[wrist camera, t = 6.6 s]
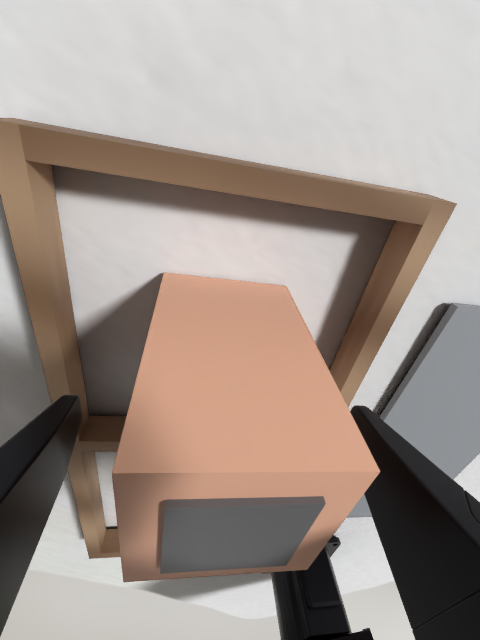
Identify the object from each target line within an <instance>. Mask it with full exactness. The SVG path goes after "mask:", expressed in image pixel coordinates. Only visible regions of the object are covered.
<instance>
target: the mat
mask: <svg viewBox="0 0 480 640" xmlns="http://www.w3.org/2000/svg"><path fill="white" fill-rule="evenodd" d="M379 418H381V419H382V420H383V421H384V422H385V423H386V424H388V425H389V426H390V427H391V428H392V429H394V430H395V431H396V432H397V433H398V434H399V435H401V436H402V437H403V438H404V439H405V440H407V441H408V442H409V443H410V444H411V445H412V446H414V447H415V448H416V449H417V450H418V451H420V452H421V453H422V454H423V455H424V456H425V457H427V458H428V459H429V460H430V461H431V462H432V463H434V464H435V465H436V466H437V467H438V468H440V469H441V470H442V471H443V472H444V473H445V474H447V475H448V476H449V477H450V478H451V479H454V478H455V477H456V476H457V475H458V474H459V473H460V472H461V471H462V470H463V469H464V468H465V467H466V466H467V465H468V464H469V463H470V462H471V461H472V460H473V459H474V458H475V457H476V456H477V455H478V454H479V453H480V306H476V305H467V304H458V303H451V305H450V306H449V308H448V310H447V311H446V313H445V314H444V316H443V317H442V319H441V321H440V322H439V324H438V325H437V327H436V329H435V330H434V332H433V333H432V335H431V336H430V338H429V340H428V341H427V343H426V344H425V346H424V348H423V349H422V351H421V352H420V354H419V355H418V357H417V359H416V360H415V362H414V363H413V365H412V366H411V368H410V370H409V371H408V373H407V374H406V376H405V378H404V379H403V381H402V382H401V384H400V385H399V387H398V389H397V390H396V392H395V393H394V395H393V397H392V398H391V400H390V401H389V403H388V404H387V406H386V408H385V409H384V411H383V412H382V414H381V415H380V417H379ZM352 517H372V515H371V512H370V509H369V506H368V503H367V500H366V498H365V495H364V494H363V496H362V497H361V498H360V500H359V501H358V502H357V504H356V505H355V506H354V508H353V509H352V510H351V512H350V513H349V514H348V516H347V517H346V518H352Z"/></svg>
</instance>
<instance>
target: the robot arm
mask: <svg viewBox="0 0 480 640" xmlns="http://www.w3.org/2000/svg"><path fill="white" fill-rule="evenodd" d="M350 413H351V415H352V417H353V419H354V421H355V422H356V424H357V426H358V428H359V430H360V432H361V434H362V436H363V438H364V440H365V442H366V444H367V446H368V448H369V450H370V452H371V454H372V456H373V458H374V460H375V462H376V464H377V466H378V468H379V470H380V473H379V474H378V476H377V477H376V478H375V480H374V481H373V482H372V484H371V485H370V486H369V488H368V489H367V490H366V492H365V493H364V495H365V498H366V500H367V503H368V506H369V509H370V512H371V515H372V517H373V520H374V523H375V526H376V529H377V532H378V534H379V537H380V540H381V543H382V546H383V549H384V551H385V554H386V557H387V560H388V563H389V565H390V568H391V571H392V574H393V577H394V580H395V582H396V585H397V588H398V591H399V594H400V597H401V599H402V602H403V605H404V608H405V611H406V614H407V616H408V619H409V622H410V625H411V628H412V629H413V634H414V637H415V640H480V502H479V501H477V500H476V499H475V498H474V497H473V496H472V495H470V494H469V493H468V492H467V491H464V489H463V488H462V487H461V486H460V485H458V484H457V483H456V482H455V481H454V480H453V479H451V478H450V477H449V476H448V475H447V474H445V473H444V472H443V471H442V470H441V469H440V468H438V467H437V466H436V465H435V464H434V463H432V462H431V461H430V460H429V459H428V458H427V457H425V456H424V455H423V454H422V453H421V452H420V451H418V450H417V449H416V448H415V447H414V446H412V445H411V444H410V443H409V442H408V441H407V440H405V439H404V438H403V437H402V436H401V435H399V434H398V433H397V432H396V431H395V430H394V429H392V428H391V427H390V426H389V425H388V424H386V423H385V422H384V421H383V420H382V419H381V418H379V417H378V416H377V415H376V414H375V413H373V412H372V411H371V410H370V409H369V408H367V407H366V406H354V407H352V409H351V411H350ZM81 420H82V410H81V404H80V398H79V396H78V395H63V396H61V397H60V398H59V399H57V400H56V401H55V402H54V403H53V404H51V405H50V406H49V407H48V408H47V409H45V410H44V411H43V412H42V413H41V414H39V415H38V416H37V417H36V418H35V419H33V420H32V421H31V422H30V423H29V424H27V425H26V426H25V427H24V428H23V429H21V430H20V431H19V432H18V433H17V434H16V435H14V436H13V437H12V438H11V439H10V440H8V441H7V442H6V443H5V444H4V445H2V446H1V447H0V636H1V634H2V631H3V629H4V626H5V624H6V621H7V619H8V616H9V614H10V611H11V609H12V606H13V604H14V601H15V599H16V596H17V594H18V592H19V589H20V586H21V584H22V582H23V579H24V577H25V574H26V572H27V569H28V567H29V564H30V562H31V559H32V557H33V555H34V552H35V550H36V547H37V545H38V542H39V540H40V537H41V535H42V532H43V530H44V527H45V525H46V522H47V520H48V517H49V515H50V513H51V510H52V508H53V505H54V503H55V500H56V498H57V495H58V493H59V490H60V488H61V485H62V483H63V480H64V478H65V475H66V472H67V470H68V466H69V463H70V459H71V456H72V452H73V449H74V445H75V441H76V438H77V434H78V431H79V427H80V424H81ZM340 544H341V543H340V540H339V538H338V537H331V538H330V540H329V541H328V542H327V544H326V545H325V547H324V548H323V549H322V551H321V552H320V553H319V555H318V556H317V557H316V559H315V560H314V561H313V563H312V564H311V565H310V567H309V568H308V569H307V570H295V571H281V572H266V573H271V576H272V583H273V590H274V596H275V603H276V609H277V616H278V623H279V629H280V636H281V640H373V637H372V634H371V631H370V628H367V629H363V631H360V632H356V633H352V632H351V629H350V625H349V622H348V618H347V615H346V611H345V608H344V605H343V601H342V598H341V594H340V591H339V587H338V584H337V581H336V577H335V574H334V570H333V567H332V563H331V560H330V557H331V556H332V554H333V553H334V552H335V551H336V549H337V548H338V547H339V546H340Z"/></svg>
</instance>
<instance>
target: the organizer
mask: <svg viewBox="0 0 480 640" xmlns="http://www.w3.org/2000/svg"><path fill="white" fill-rule="evenodd" d="M51 164H52V165H58V166H64V167H70V168H76V169H82V170H89V171H95V172H101V173H107V174H113V175H119V176H125V177H132V178H138V179H144V180H150V181H156V182H162V183H168V184H175V185H181V186H187V187H193V188H199V189H205V190H211V191H218V192H224V193H230V194H236V195H242V196H248V197H254V198H261V199H267V200H273V201H279V202H285V203H291V204H297V205H304V206H310V207H316V208H322V209H328V210H334V211H340V212H347V213H353V214H359V215H365V216H371V217H377V218H383V219H390V220H396V221H395V223H394V226H393V228H392V230H391V232H390V235H389V237H388V239H387V241H386V244H385V246H384V248H383V250H382V253H381V255H380V257H379V260H378V262H377V264H376V266H375V269H374V271H373V273H372V275H371V278H370V280H369V282H368V284H367V287H366V289H365V291H364V293H363V296H362V298H361V300H360V303H359V305H358V307H357V309H356V312H355V314H354V316H353V318H352V321H351V323H350V325H349V327H348V330H347V332H346V334H345V336H344V339H343V341H342V343H341V346H340V348H339V350H338V352H337V355H336V357H335V359H334V361H333V364H332V366H331V368H330V370H329V371H330V373H331V375H332V377H333V379H334V381H335V383H336V385H337V387H338V389H339V391H340V393H341V395H342V397H343V399H344V401H345V403H346V405H347V407H349V405H350V403H351V401H352V399H353V397H354V395H355V394H356V392H357V390H358V388H359V386H360V384H361V382H362V381H363V379H364V377H365V375H366V373H367V371H368V369H369V367H370V366H371V364H372V362H373V360H374V358H375V356H376V354H377V352H378V351H379V349H380V347H381V345H382V343H383V341H384V339H385V337H386V336H387V334H388V332H389V330H390V328H391V326H392V324H393V322H394V321H395V319H396V317H397V315H398V313H399V311H400V309H401V307H402V306H403V304H404V302H405V300H406V298H407V296H408V294H409V293H410V291H411V289H412V287H413V285H414V283H415V281H416V279H417V278H418V276H419V274H420V272H421V270H422V268H423V266H424V264H425V263H426V261H427V259H428V257H429V255H430V253H431V251H432V249H433V248H434V246H435V244H436V242H437V240H438V238H439V236H440V234H441V233H442V231H443V229H444V227H445V225H446V223H447V221H448V219H449V218H450V216H451V214H452V212H453V210H454V208H455V206H456V203H453V202H450V201H446V200H443V199H440V198H437V197H434V196H431V195H428V194H422V193H417V192H412V191H406V190H401V189H395V188H390V187H384V186H379V185H374V184H368V183H363V182H357V181H352V180H346V179H341V178H336V177H330V176H325V175H319V174H314V173H308V172H303V171H298V170H292V169H287V168H281V167H276V166H270V165H265V164H260V163H254V162H249V161H243V160H238V159H232V158H227V157H222V156H216V155H211V154H205V153H200V152H194V151H189V150H184V149H178V148H173V147H167V146H162V145H157V144H151V143H146V142H140V141H135V140H129V139H124V138H119V137H113V136H108V135H102V134H97V133H91V132H86V131H81V130H75V129H70V128H64V127H59V126H53V125H48V124H43V123H37V122H32V121H26V120H21V119H15V118H0V194H1V198H2V203H3V207H4V211H5V215H6V219H7V223H8V227H9V231H10V235H11V239H12V244H13V248H14V252H15V256H16V260H17V264H18V268H19V272H20V276H21V280H22V285H23V289H24V293H25V297H26V301H27V305H28V309H29V313H30V317H31V321H32V326H33V330H34V334H35V338H36V342H37V346H38V350H39V354H40V358H41V362H42V367H43V371H44V375H45V379H46V383H47V387H48V391H49V395H50V399H51V403H52V404H53V403H54V402H55V401H56V400H57V399H59V398H60V397H61V396H63V395H78V396H79V398H80V404H81V410H82V420H81V424H80V427H79V431H78V434H77V438H76V441H75V445H74V449H73V452H72V456H71V459H70V463H69V466H68V473H69V477H70V481H71V485H72V490H73V494H74V498H75V502H76V506H77V510H78V514H79V518H80V522H81V527H82V531H83V535H84V539H85V543H86V547H87V551H88V555H89V559H91V558H110V557H121V554H120V544H119V535H118V529H106V525H105V519H104V512H103V505H102V499H101V492H100V486H99V479H98V472H97V466H96V459H95V452H94V451H99V452H118V448H119V444H120V440H121V436H122V432H123V429H124V425H125V421H126V417H122V416H89V413H88V406H87V400H86V393H85V386H84V380H83V373H82V366H81V360H80V353H79V347H78V340H77V333H76V327H75V320H74V314H73V307H72V300H71V294H70V287H69V280H68V274H67V267H66V261H65V254H64V247H63V241H62V234H61V228H60V221H59V214H58V208H57V201H56V194H55V188H54V181H53V175H52V168H51Z"/></svg>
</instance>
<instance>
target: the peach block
mask: <svg viewBox="0 0 480 640" xmlns="http://www.w3.org/2000/svg"><path fill="white" fill-rule="evenodd" d="M379 473H380V470H379V468H378V466H377V464H376V462H375V460H374V458H373V456H372V454H371V452H370V450H369V448H368V446H367V444H366V442H365V440H364V438H363V436H362V434H361V432H360V430H359V428H358V426H357V424H356V422H355V421H354V419H353V417H352V415H351V413H350V411H349V409H348V407H347V405H346V403H345V401H344V399H343V397H342V395H341V393H340V391H339V389H338V387H337V385H336V383H335V381H334V379H333V377H332V375H331V373H330V371H329V369H328V367H327V365H326V363H325V361H324V359H323V357H322V355H321V353H320V351H319V349H318V347H317V345H316V343H315V342H314V340H313V338H312V336H311V334H310V332H309V330H308V328H307V326H306V324H305V322H304V320H303V318H302V316H301V314H300V312H299V310H298V308H297V306H296V304H295V302H294V300H293V298H292V296H291V294H290V292H289V290H288V288H287V286H282V285H273V284H264V283H255V282H245V281H236V280H227V279H218V278H209V277H200V276H191V275H182V274H173V273H164V274H163V278H162V282H161V286H160V290H159V293H158V297H157V301H156V305H155V309H154V313H153V317H152V320H151V324H150V328H149V332H148V336H147V340H146V344H145V347H144V351H143V355H142V359H141V363H140V367H139V371H138V374H137V378H136V382H135V386H134V390H133V394H132V398H131V402H130V405H129V409H128V413H127V417H126V421H125V425H124V429H123V432H122V436H121V440H120V444H119V448H118V452H117V456H116V459H115V463H114V467H113V471H112V479H113V488H114V497H115V507H116V516H117V526H118V535H119V544H120V554H121V563H122V573H123V582H133V581H148V580H162V579H177V578H192V577H207V576H221V575H236V574H251V573H266V572H281V571H295V570H307V569H308V568H309V567H310V565H311V564H312V563H313V561H314V560H315V559H316V557H317V556H318V555H319V553H320V552H321V551H322V549H323V548H324V547H325V545H326V544H327V542H328V541H329V540H330V538H331V537H332V536H333V534H334V533H335V532H336V530H337V529H338V528H339V526H340V525H341V524H342V522H343V521H344V520H345V518H346V517H347V516H348V514H349V513H350V512H351V510H352V509H353V508H354V506H355V505H356V504H357V502H358V501H359V500H360V498H361V497H362V496H363V494H364V493H365V492H366V490H367V489H368V488H369V486H370V485H371V484H372V482H373V481H374V480H375V478H376V477H377V476H378V474H379Z"/></svg>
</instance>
